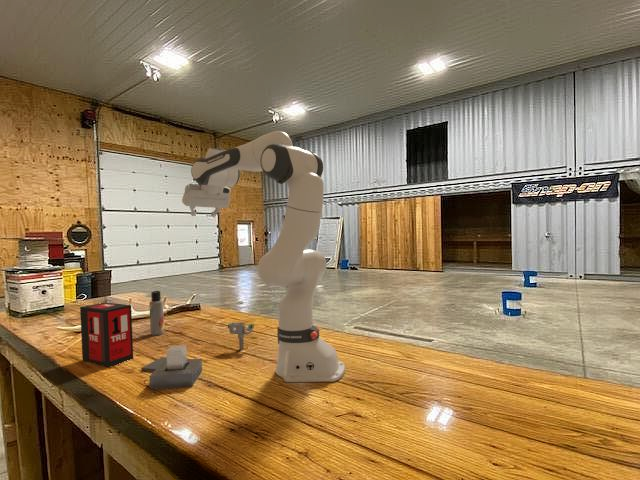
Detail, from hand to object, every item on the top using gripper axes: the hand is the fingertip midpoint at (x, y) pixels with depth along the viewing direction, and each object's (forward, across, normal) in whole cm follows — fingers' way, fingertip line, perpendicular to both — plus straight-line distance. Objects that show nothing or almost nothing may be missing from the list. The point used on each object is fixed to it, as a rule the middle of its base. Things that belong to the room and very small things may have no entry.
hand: (203, 215), depth 146 cm
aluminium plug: (+33, -27, -53) cm, 68 cm away
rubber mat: (+40, -25, -40) cm, 62 cm away
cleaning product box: (+51, -36, -19) cm, 65 cm away
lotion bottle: (+60, -10, -1) cm, 61 cm away
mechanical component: (+37, +2, -46) cm, 59 cm away
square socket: (+33, -27, -53) cm, 68 cm away
